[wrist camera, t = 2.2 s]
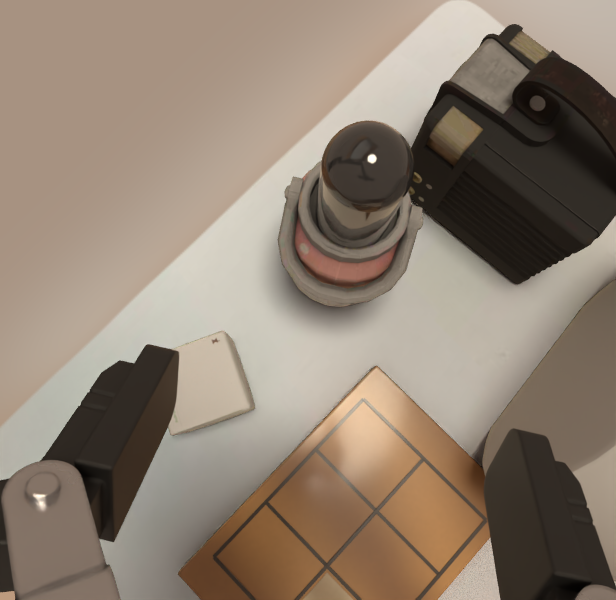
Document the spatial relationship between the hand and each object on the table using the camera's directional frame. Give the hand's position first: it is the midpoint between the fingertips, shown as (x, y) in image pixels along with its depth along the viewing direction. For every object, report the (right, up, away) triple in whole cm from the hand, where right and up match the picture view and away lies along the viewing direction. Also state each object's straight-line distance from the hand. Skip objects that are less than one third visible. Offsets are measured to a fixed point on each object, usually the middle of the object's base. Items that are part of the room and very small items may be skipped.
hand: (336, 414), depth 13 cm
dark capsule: (+2, +8, +19) cm, 20 cm away
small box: (-8, -4, +29) cm, 30 cm away
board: (+2, -14, +27) cm, 30 cm away
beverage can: (+1, +5, +31) cm, 31 cm away
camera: (+14, +12, +33) cm, 37 cm away
